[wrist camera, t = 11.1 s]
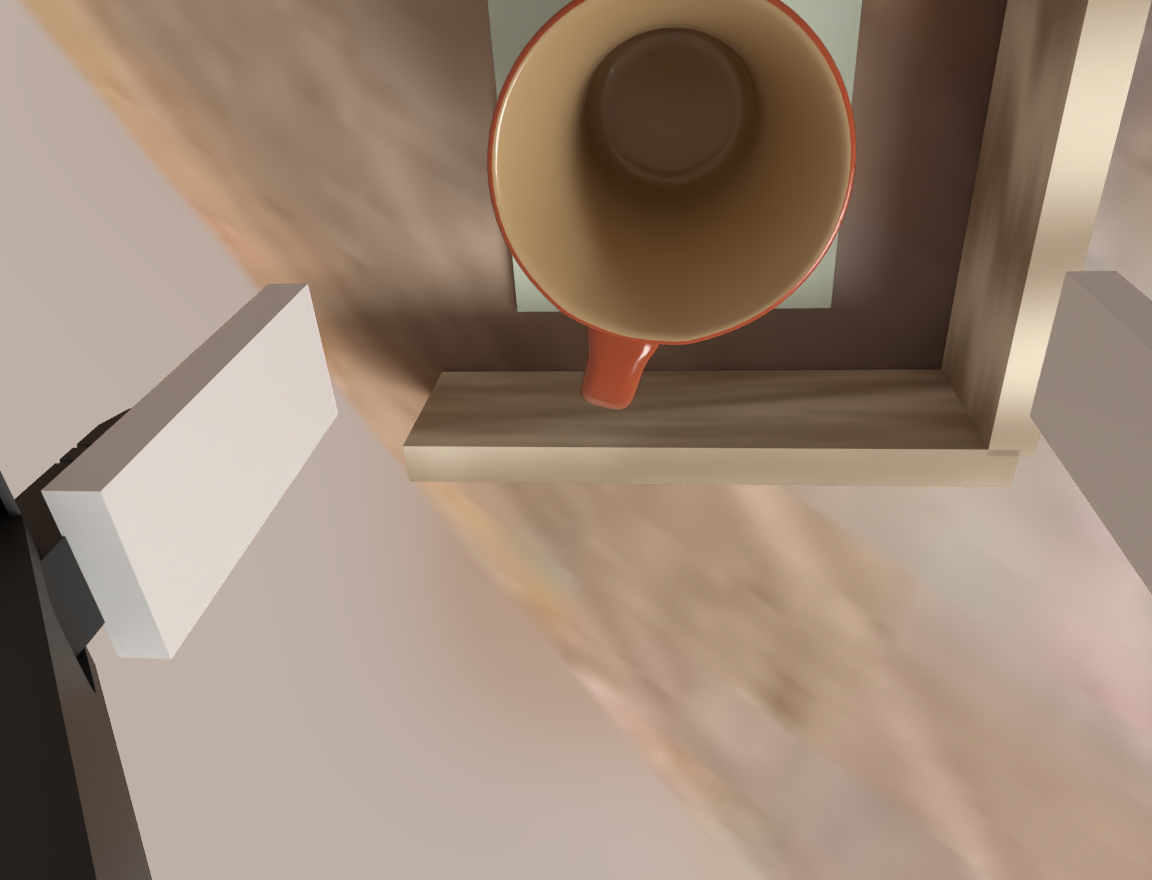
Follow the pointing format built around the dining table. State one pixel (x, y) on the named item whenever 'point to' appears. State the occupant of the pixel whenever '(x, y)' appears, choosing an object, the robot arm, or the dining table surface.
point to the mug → (669, 171)
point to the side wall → (1035, 199)
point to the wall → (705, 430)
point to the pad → (822, 3)
